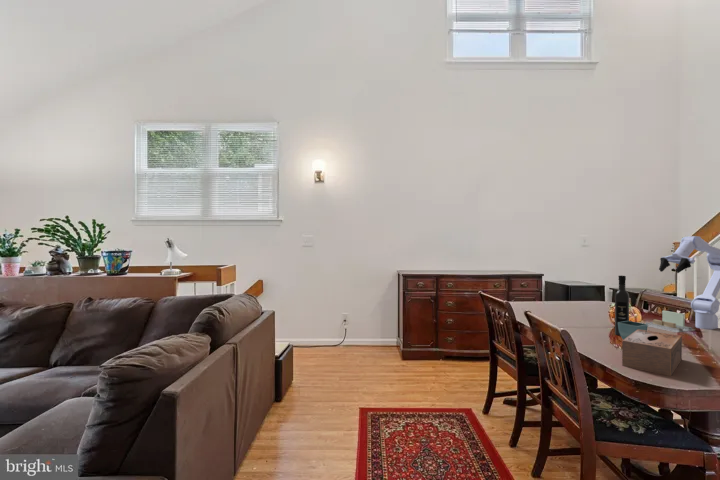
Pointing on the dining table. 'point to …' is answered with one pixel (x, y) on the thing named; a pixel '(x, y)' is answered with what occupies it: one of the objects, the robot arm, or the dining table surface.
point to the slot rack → (677, 329)
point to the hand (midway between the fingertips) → (668, 270)
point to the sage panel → (674, 318)
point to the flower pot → (630, 328)
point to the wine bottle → (621, 304)
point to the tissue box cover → (652, 351)
